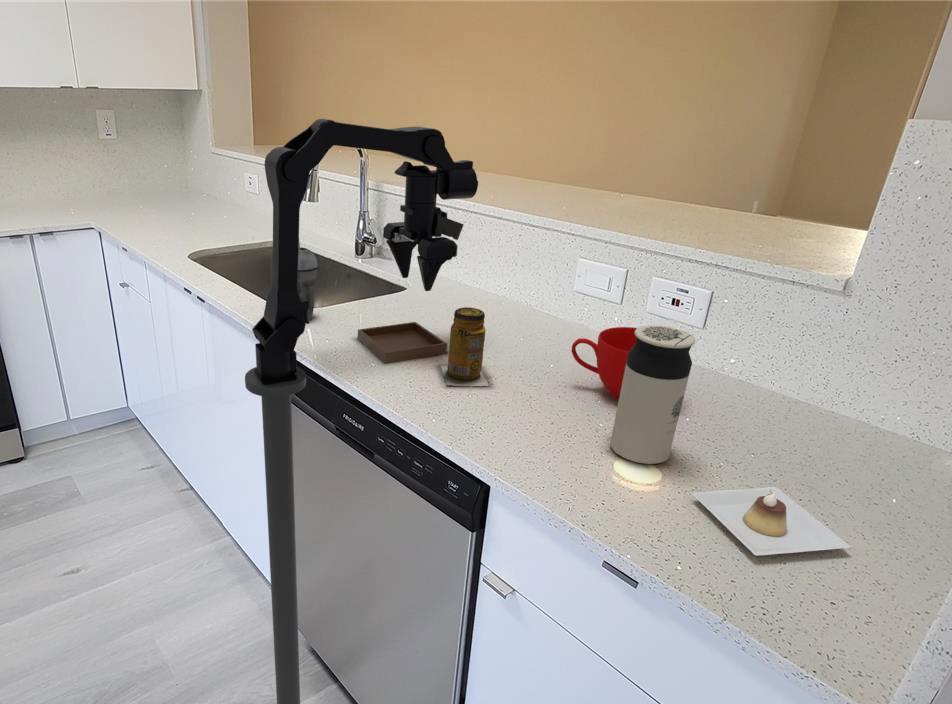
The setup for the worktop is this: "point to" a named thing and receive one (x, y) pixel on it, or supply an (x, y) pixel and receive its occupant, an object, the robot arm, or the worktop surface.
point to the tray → (401, 342)
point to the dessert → (769, 521)
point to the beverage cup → (307, 277)
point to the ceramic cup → (610, 356)
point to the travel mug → (652, 394)
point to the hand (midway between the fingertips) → (416, 284)
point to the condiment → (466, 349)
